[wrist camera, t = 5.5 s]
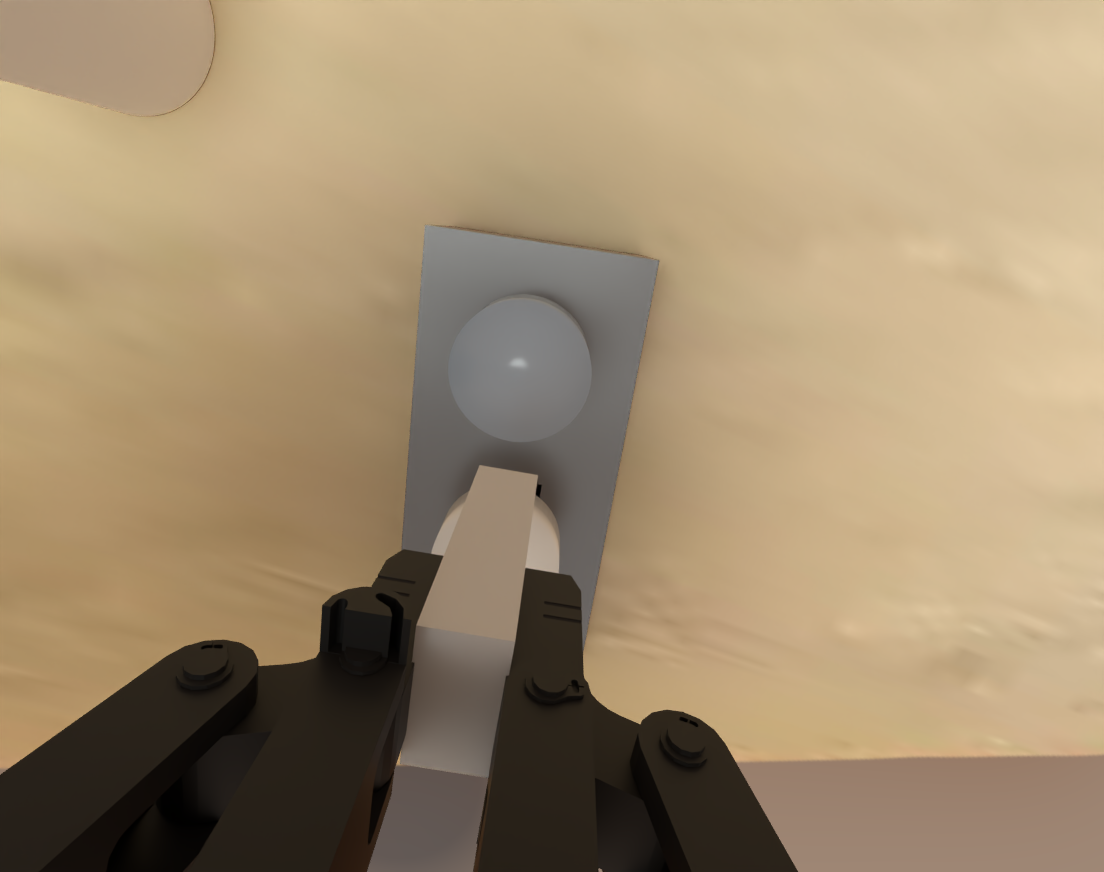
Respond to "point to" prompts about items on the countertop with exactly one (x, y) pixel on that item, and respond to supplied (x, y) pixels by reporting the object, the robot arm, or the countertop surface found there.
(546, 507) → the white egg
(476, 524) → the robot arm
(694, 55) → the countertop surface
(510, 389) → the pale blue knob
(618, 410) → the key panel
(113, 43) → the cup
